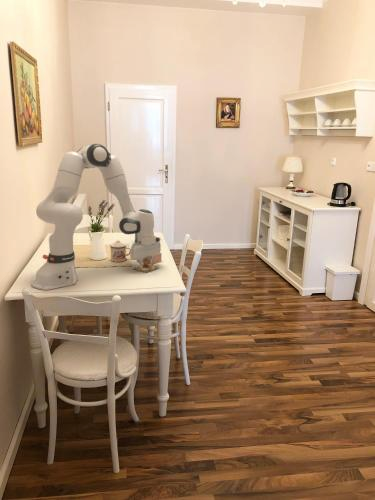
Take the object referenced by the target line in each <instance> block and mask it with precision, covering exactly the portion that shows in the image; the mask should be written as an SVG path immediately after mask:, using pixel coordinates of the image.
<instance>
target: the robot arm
mask: <svg viewBox="0 0 375 500" xmlns="http://www.w3.org/2000/svg"><path fill="white" fill-rule="evenodd" d="M90 168H91V169H95V168H97V169H98V170H99V171H100V172H101V174H102V179H103V182H104V185H105V187H106V190H107V191H108V192H109V193H110V194H111V195H113V196H114V197H115V198H116V199H117V201H118V203H119V204H118V205H119V208H120V210H121V213H122V218H121V219H120V221H119V223H118V227H119V231H121V232H122V234H124V235H135V233H137V242H133V243H132V245H131V247H130V249H131V252H130V251H129V252H130V256H129V259H130V260H132V261H137V260H138V261H139V262H138V263H139V265H140V266H144V263H143V262H142V258H145V257H149V260H148V263H149V264H150V263H152V259H153V255H155V254H159V253H161V250H162V248H161V247H162V244H161V237H160V236H156V235H155V233H154V229H155V219H154V218H155V217H154V214H153V212H152V211H150V210H148V209H143V208H142V209H139V210H137V211H135V209H134V206H133V203H132V201H131V198H130V195H129V189H128V184H127V183H128V182H127V178H126V175H125V171H124V169H123V166H122V164H121V161H120V160H119V158H118V157H117V155H114V154H111V153H110V152H109V151H108V149H107V147H105V146H104V145H103V144H100V143H93V144H88V145H85V146H84V147H80V148H79V149H78V150H77V151H67V152H66V153H64V155H63V157H62V159H61V161H60V163H59V167H58V169H57V173H56V176H55V177H56V178H55V181H54V184H53V187H52V188H51V190H50V192H49V193H48V195H47V196H46V197H45V199H43V200H42V201H41V202H39V203H38V205H36V209H35V211H36V216H37V218H38V219H39V220H42V221H43V222H44V223H47V224H52V225H54V232H53V233H52V234H50V236H49V237H48V245H49V248H48V249H49V253H48V255H47V254H43V255H42V259H44V260H46V262H45V263H44V264H42V266H41V267H40V268H39V269H37V271H36V273H35V280H32V281H31V282H30V285H31V286H32V287H33V288H35V289H38V290H40V291H50V290H54V289H60V288H63V287H68V286H72V285H76V284H77V282H78V280H79V276H78V273H77V270H76V264H75V256H76V255H75V251H74V234H75V230H76V228H77V226H79V225H80V224H82V220H83V214H84V213H83V211H82V209H81V208H80V206H77V205H76V204H74V203H69V201H70V200H71V198H73V197H74V196H76V194H78V191H79V187H80V184H81V179H82V176H83V172H84V170H85V169H90Z"/></svg>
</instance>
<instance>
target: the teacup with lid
mask: <svg viewBox="0 0 375 500" xmlns="http://www.w3.org/2000/svg"><path fill="white" fill-rule="evenodd" d="M127 249H128V250H129V253H127ZM130 252H131V247H129V246H127V244H125V243H124V242H122V241H120V240H119V239H118V240H116V242H113V243H111V244H110V260H112V261H111V262H113V261H114V263H122V261H123V262H125V261H126V260H127V257H129V255H130Z"/></svg>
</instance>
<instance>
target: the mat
mask: <svg viewBox="0 0 375 500" xmlns="http://www.w3.org/2000/svg"><path fill="white" fill-rule="evenodd" d="M159 268H160V267H157V266H155V269H154V270H151V271H140V270H137V266H136V267H133V268H132V270H135V271H138V272H141V273H145V274H147V273H150V272H153V271H156V270H159Z"/></svg>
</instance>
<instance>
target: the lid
mask: <svg viewBox="0 0 375 500" xmlns="http://www.w3.org/2000/svg"><path fill="white" fill-rule="evenodd" d="M143 263H144V266H140V264H138V265H137V266H136V267H137V270H136V271H138V270H140V271H139V272H141V271H151V270H153V271H155V270H154V269H155V267H156V266H155V265H154V264H148V259H143ZM151 272H152V271H151Z"/></svg>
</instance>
